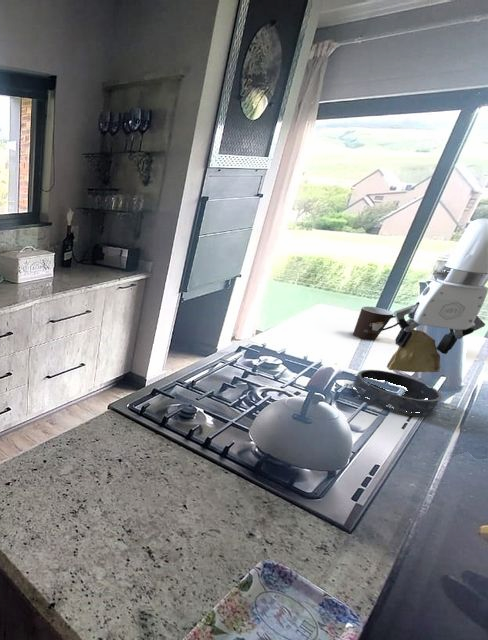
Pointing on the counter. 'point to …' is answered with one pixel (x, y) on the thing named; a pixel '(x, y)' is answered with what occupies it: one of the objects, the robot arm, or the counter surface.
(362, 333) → the coffee mug
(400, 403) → the dark grey ring
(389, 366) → the rock
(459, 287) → the robot arm
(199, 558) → the counter surface
